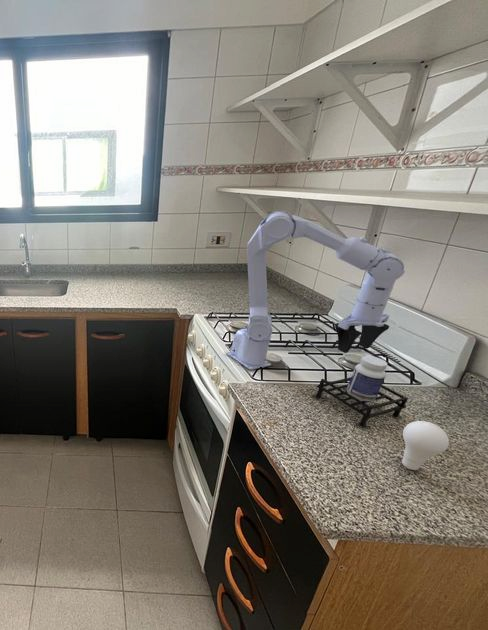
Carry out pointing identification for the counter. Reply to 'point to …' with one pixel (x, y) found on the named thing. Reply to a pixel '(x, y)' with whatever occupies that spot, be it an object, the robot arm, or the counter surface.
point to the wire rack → (369, 408)
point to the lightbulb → (422, 443)
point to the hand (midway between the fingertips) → (353, 348)
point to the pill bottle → (367, 378)
